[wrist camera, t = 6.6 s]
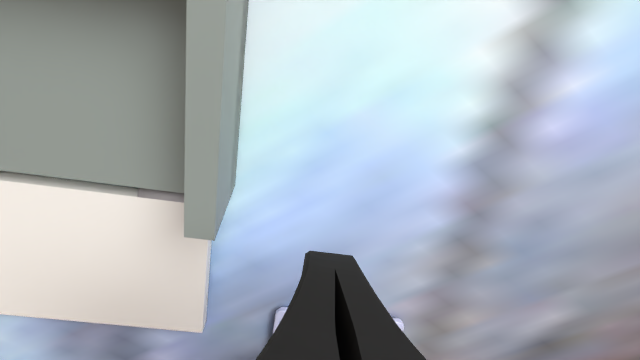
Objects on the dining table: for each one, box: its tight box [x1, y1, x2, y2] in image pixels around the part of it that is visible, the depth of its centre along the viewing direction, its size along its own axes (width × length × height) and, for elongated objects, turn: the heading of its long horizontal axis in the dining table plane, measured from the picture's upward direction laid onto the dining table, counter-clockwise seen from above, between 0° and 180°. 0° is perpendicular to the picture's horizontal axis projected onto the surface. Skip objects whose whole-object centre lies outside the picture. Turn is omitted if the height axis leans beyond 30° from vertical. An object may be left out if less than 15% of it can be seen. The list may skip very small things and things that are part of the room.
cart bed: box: [0, 0, 248, 241], centre depth 15 cm, size 11×16×5 cm
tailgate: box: [0, 171, 211, 333], centre depth 21 cm, size 8×14×1 cm, turn 81°
